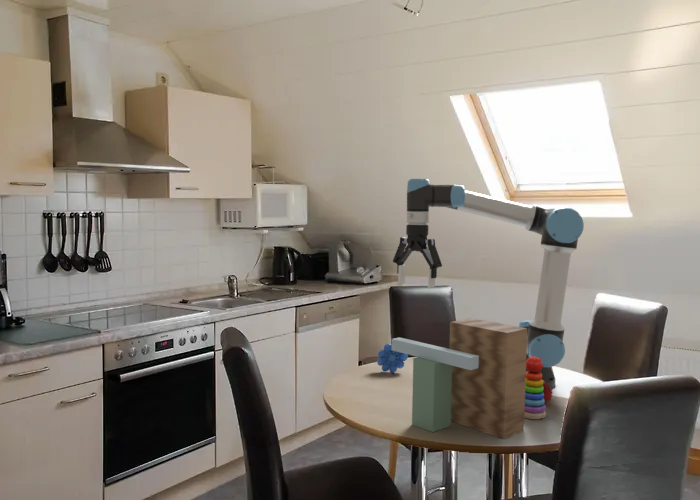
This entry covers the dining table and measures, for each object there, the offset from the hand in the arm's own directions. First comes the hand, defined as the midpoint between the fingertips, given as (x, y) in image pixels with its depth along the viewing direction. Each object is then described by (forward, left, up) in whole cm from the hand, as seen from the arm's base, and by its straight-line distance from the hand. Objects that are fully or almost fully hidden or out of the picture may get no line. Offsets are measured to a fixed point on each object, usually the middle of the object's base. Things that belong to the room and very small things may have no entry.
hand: (416, 285), depth 221 cm
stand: (-16, +35, -37) cm, 53 cm away
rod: (0, +35, -17) cm, 39 cm away
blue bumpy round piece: (+5, -23, -37) cm, 44 cm away
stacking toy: (-33, +27, -37) cm, 56 cm away
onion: (-40, +16, -37) cm, 57 cm away
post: (0, +35, -37) cm, 51 cm away
